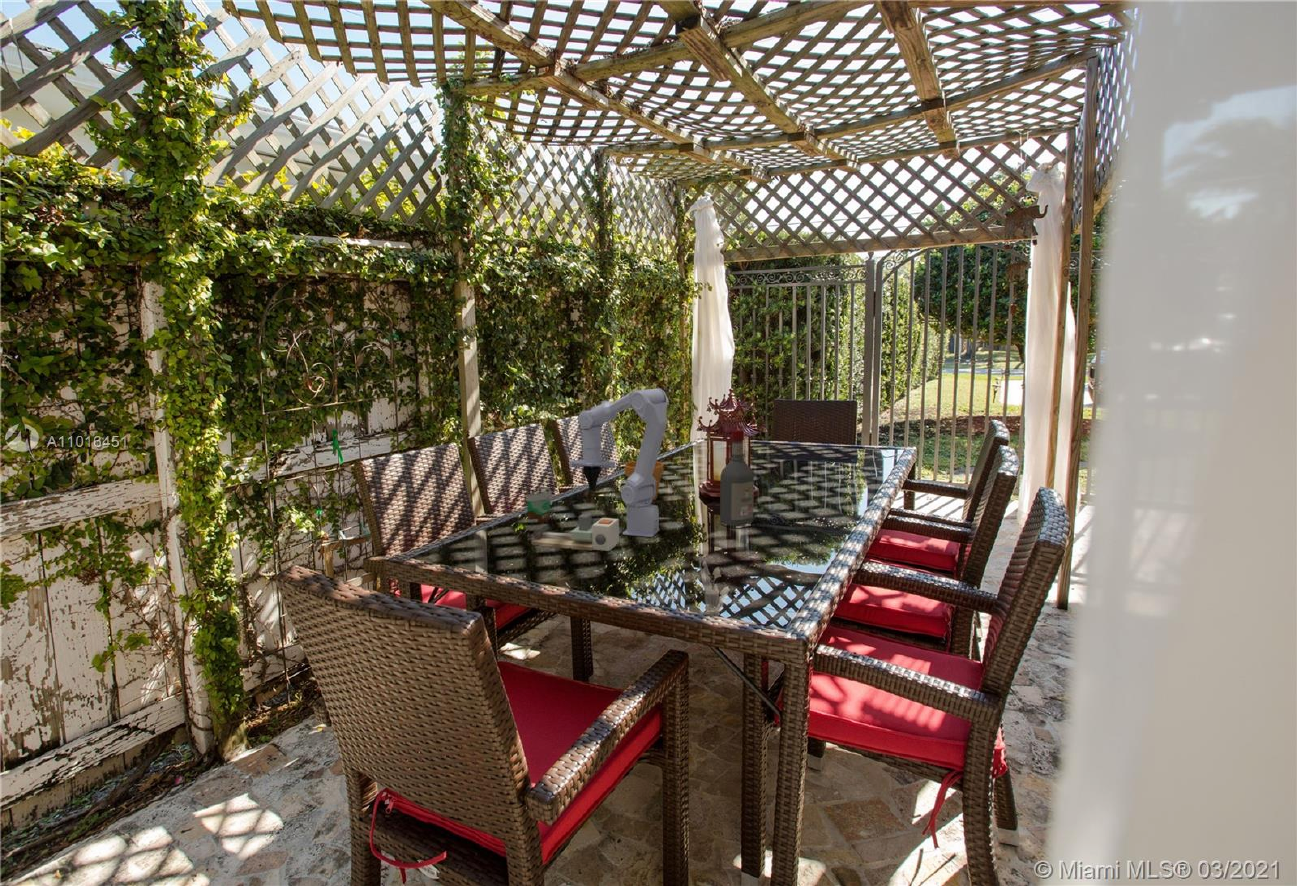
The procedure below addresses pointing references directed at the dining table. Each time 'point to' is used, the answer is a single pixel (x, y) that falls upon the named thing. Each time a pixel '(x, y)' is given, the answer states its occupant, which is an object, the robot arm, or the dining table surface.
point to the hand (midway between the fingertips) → (592, 489)
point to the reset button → (605, 521)
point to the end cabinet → (605, 535)
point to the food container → (538, 505)
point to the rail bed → (558, 539)
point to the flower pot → (656, 474)
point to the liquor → (736, 486)
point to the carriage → (583, 529)
